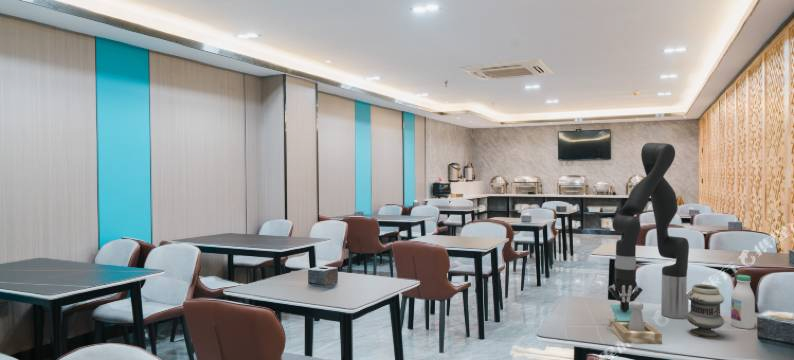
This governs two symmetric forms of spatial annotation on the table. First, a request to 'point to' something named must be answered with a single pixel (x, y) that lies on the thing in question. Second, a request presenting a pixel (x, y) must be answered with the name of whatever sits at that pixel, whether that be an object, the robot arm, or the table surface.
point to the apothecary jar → (705, 310)
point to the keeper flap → (621, 313)
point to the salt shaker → (636, 317)
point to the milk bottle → (743, 304)
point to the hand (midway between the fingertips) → (624, 311)
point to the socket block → (636, 333)
